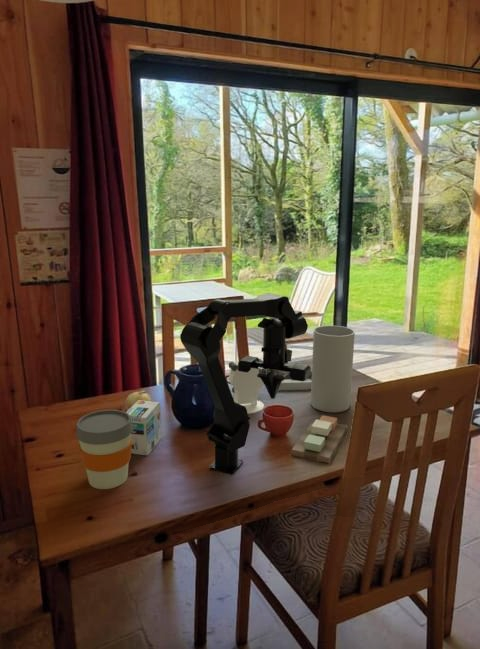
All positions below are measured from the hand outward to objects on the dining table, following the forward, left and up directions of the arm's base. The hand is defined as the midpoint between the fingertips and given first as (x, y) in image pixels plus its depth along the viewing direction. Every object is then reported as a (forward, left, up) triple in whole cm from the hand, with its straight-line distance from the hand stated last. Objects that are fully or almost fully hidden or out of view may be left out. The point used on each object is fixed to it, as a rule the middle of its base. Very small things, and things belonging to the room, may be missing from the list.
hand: (273, 398), depth 131 cm
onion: (+1, +45, -13) cm, 47 cm away
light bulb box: (-16, +31, -13) cm, 37 cm away
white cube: (+6, -12, -11) cm, 17 cm away
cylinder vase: (+31, -8, -13) cm, 35 cm away
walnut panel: (+6, -12, -13) cm, 19 cm away
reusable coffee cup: (-33, +29, -13) cm, 46 cm away
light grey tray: (+47, +8, -14) cm, 50 cm away
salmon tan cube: (+12, -12, -13) cm, 21 cm away
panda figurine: (+19, +16, -13) cm, 28 cm away
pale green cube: (0, -12, -13) cm, 17 cm away
